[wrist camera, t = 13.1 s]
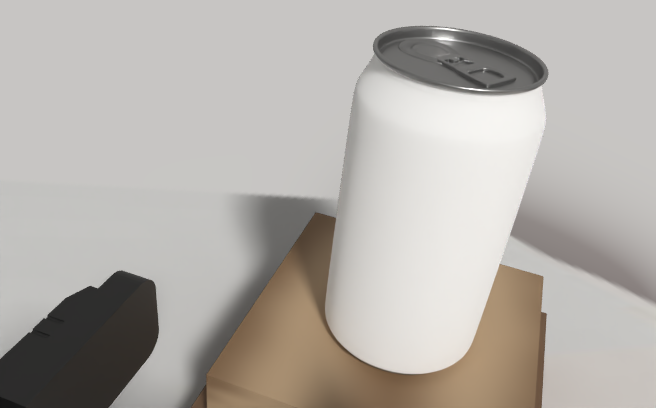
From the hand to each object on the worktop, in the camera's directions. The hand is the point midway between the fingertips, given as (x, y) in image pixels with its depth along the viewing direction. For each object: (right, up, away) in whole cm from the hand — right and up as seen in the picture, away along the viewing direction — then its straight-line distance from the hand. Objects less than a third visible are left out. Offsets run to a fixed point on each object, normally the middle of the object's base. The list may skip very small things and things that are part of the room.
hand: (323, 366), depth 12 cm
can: (+3, -2, +14) cm, 14 cm away
